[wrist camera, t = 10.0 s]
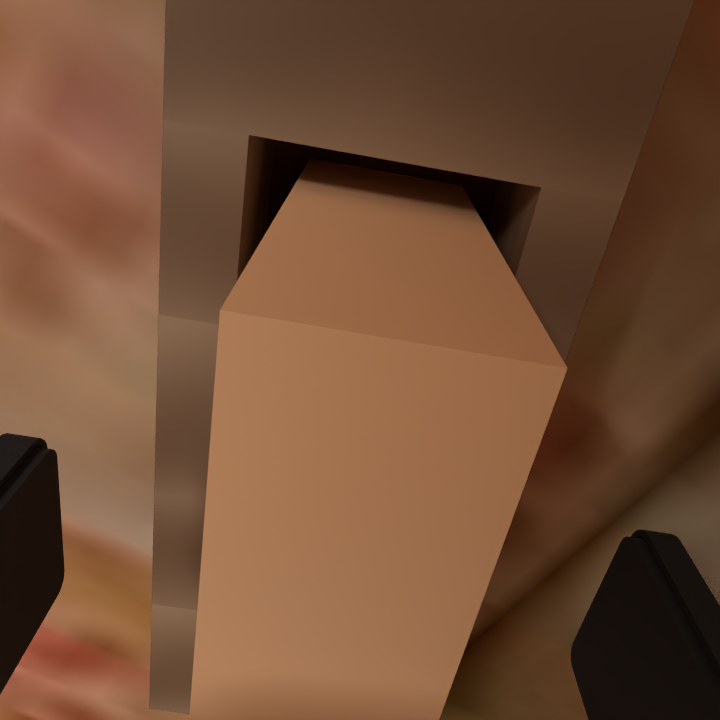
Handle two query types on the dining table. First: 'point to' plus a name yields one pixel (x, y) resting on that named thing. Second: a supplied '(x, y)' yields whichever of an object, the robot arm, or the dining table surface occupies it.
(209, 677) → the peach block
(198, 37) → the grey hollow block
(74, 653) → the dining table surface
